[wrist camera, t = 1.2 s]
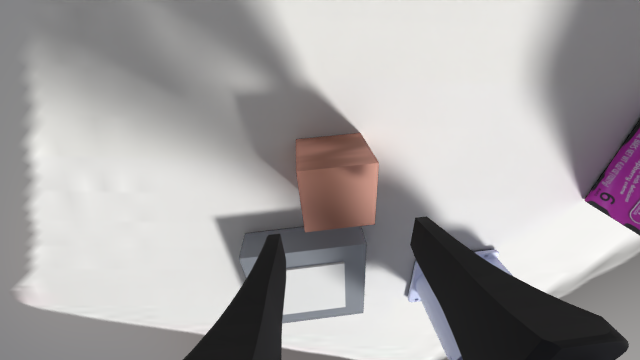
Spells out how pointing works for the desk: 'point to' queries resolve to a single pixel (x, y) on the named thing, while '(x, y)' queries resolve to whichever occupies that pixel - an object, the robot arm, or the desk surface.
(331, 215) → the salmon brown cube
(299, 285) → the grey square frame
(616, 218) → the candy bar box
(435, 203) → the desk surface
